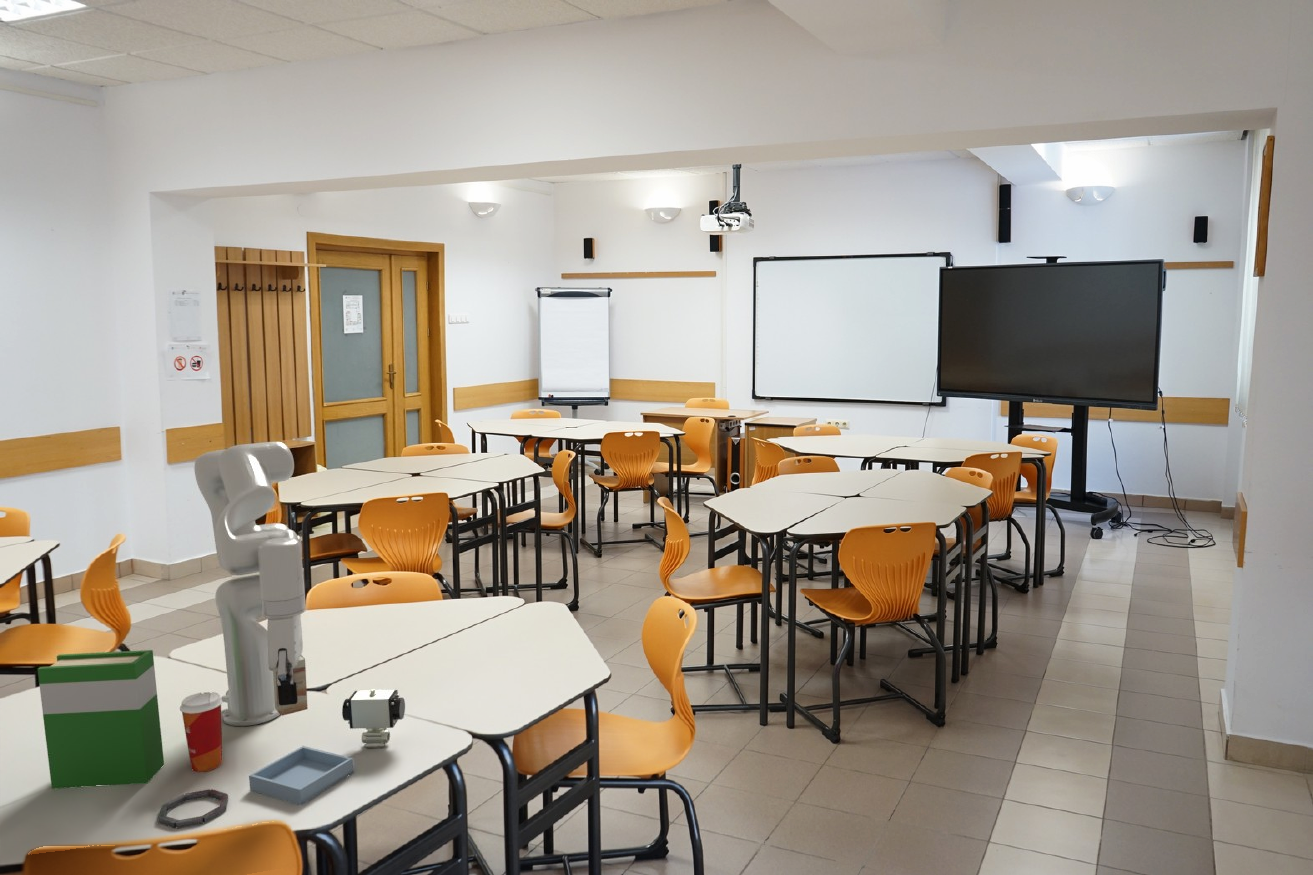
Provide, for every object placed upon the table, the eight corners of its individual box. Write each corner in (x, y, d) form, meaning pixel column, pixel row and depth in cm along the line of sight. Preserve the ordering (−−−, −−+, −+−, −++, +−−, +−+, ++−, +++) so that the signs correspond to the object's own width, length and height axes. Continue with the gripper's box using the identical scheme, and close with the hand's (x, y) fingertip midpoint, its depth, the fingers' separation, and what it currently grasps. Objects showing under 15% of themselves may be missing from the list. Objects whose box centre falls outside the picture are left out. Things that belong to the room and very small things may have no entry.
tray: (250, 790, 178) (248, 775, 177) (304, 759, 190) (303, 745, 189) (301, 805, 172) (300, 789, 172) (353, 772, 184) (352, 758, 183)
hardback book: (51, 788, 180) (37, 668, 177) (72, 770, 188) (59, 654, 184) (147, 783, 182) (134, 664, 178) (164, 764, 189) (152, 650, 186)
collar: (146, 819, 169) (145, 813, 168) (199, 790, 178) (199, 785, 178) (187, 832, 164) (187, 827, 164) (240, 802, 173) (240, 797, 173)
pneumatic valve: (401, 749, 193) (397, 693, 191) (344, 750, 193) (340, 694, 192) (408, 737, 199) (405, 682, 197) (353, 738, 199) (349, 684, 197)
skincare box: (281, 716, 175) (277, 665, 174) (274, 709, 179) (270, 658, 177) (309, 709, 178) (305, 658, 177) (302, 701, 182) (298, 651, 180)
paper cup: (194, 757, 192) (188, 691, 190) (233, 755, 192) (227, 689, 191) (178, 776, 184) (172, 707, 182) (219, 773, 185) (213, 705, 183)
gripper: (270, 593, 183) (277, 681, 186) (253, 621, 166) (261, 718, 169) (311, 589, 185) (317, 677, 187) (298, 617, 168) (305, 713, 171)
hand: (291, 696), depth 178 cm, fingers closed on skincare box, 5 cm apart
